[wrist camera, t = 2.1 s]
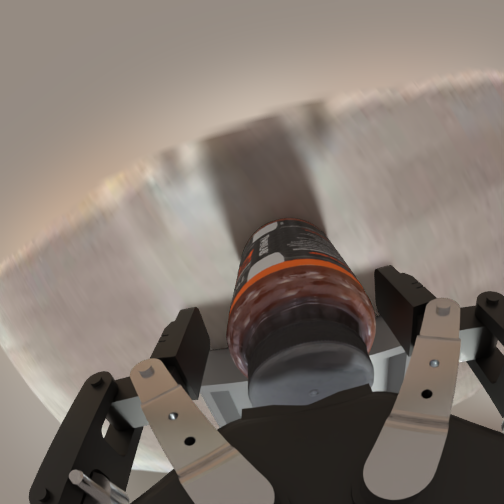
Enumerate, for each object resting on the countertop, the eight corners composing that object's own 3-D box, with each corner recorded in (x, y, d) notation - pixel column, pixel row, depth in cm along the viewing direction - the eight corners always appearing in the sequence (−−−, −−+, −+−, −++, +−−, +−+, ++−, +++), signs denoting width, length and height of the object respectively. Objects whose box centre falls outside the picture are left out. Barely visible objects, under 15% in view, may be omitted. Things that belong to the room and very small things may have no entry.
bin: (395, 310, 19) (417, 340, 15) (387, 410, 23) (398, 438, 19) (206, 351, 21) (196, 386, 17) (247, 438, 25) (245, 468, 21)
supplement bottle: (235, 221, 17) (192, 318, 7) (330, 211, 17) (421, 292, 6) (247, 305, 19) (232, 445, 9) (332, 296, 19) (386, 426, 8)
